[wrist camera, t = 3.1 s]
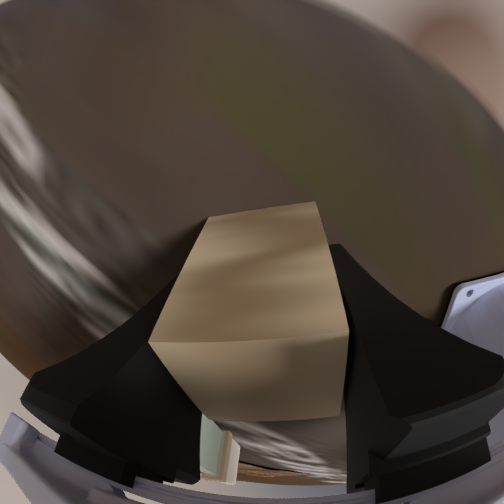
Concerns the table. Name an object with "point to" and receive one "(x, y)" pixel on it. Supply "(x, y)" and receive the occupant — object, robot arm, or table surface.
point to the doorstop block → (258, 319)
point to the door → (209, 446)
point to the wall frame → (226, 461)
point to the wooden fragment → (263, 471)
